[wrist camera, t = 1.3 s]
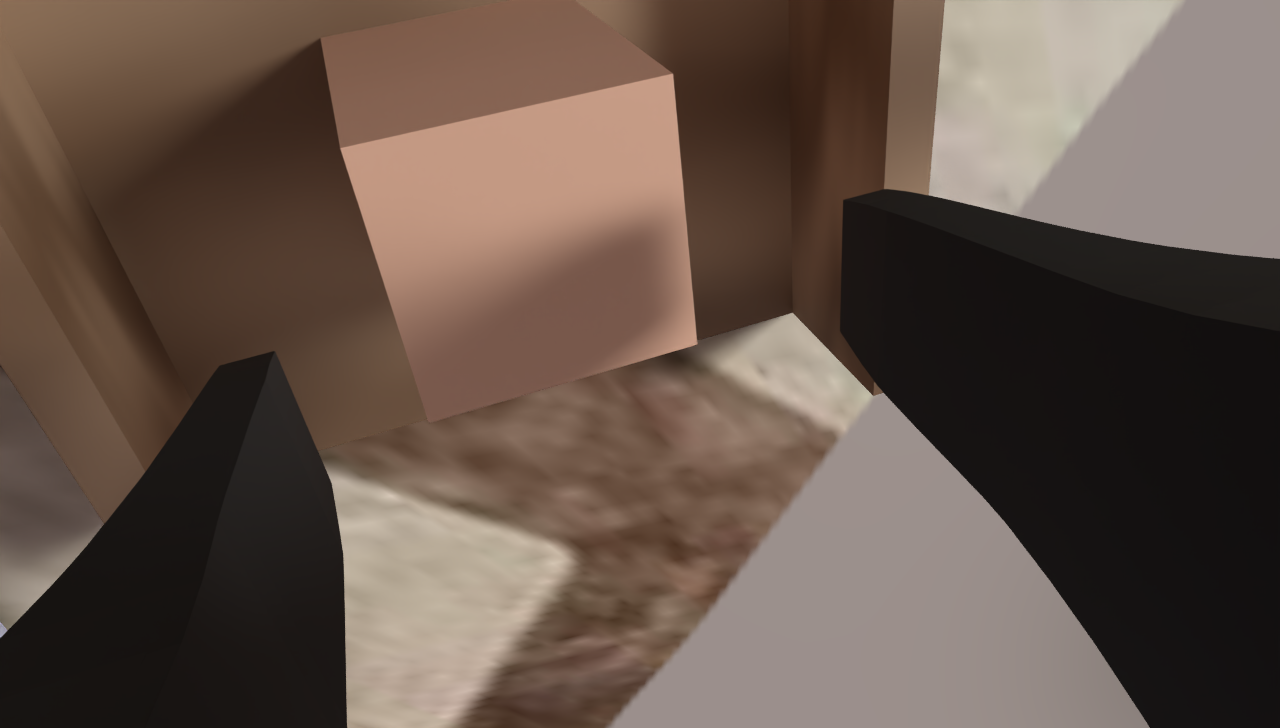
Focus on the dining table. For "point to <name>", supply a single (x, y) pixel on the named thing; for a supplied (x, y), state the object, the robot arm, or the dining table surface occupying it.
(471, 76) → the block
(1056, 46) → the dining table surface
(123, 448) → the box
